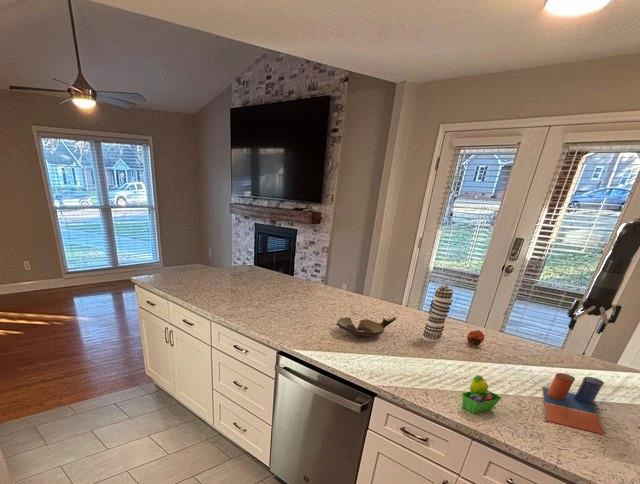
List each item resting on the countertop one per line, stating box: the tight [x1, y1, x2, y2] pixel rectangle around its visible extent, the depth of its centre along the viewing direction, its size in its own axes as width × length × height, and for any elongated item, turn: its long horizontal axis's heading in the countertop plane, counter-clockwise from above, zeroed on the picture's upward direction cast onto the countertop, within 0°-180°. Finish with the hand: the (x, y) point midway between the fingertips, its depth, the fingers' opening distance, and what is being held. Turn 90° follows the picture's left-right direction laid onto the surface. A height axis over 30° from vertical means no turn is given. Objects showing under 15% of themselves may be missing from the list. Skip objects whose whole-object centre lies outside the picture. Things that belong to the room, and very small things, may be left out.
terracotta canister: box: [547, 372, 576, 400], centre depth 153 cm, size 6×6×8 cm
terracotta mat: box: [544, 402, 604, 436], centre depth 142 cm, size 16×14×1 cm
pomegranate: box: [466, 329, 485, 347], centre depth 197 cm, size 7×7×10 cm
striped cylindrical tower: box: [422, 284, 455, 343], centre depth 197 cm, size 9×9×25 cm
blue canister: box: [574, 376, 605, 404], centre depth 151 cm, size 6×6×8 cm
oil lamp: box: [335, 316, 397, 337], centre depth 204 cm, size 22×30×8 cm
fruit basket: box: [461, 374, 502, 414], centre depth 143 cm, size 11×9×11 cm
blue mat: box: [542, 386, 598, 415], centre depth 153 cm, size 16×14×1 cm
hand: (584, 331), depth 149 cm, fingers open, 8 cm apart
